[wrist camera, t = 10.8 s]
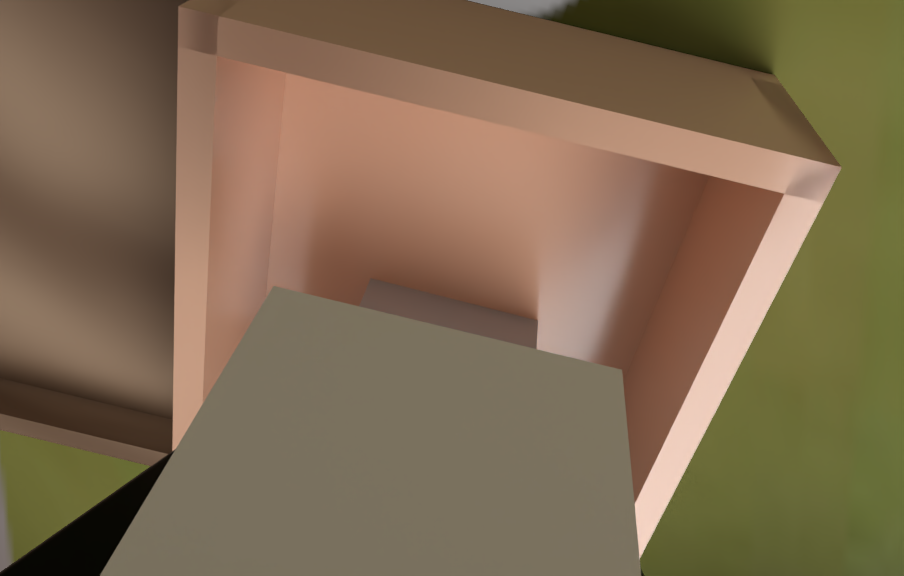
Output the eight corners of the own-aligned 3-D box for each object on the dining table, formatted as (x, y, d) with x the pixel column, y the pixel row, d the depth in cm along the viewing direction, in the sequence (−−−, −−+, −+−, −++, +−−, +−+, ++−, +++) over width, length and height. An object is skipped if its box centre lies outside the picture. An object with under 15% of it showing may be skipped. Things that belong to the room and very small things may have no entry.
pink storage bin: (592, 493, 22) (597, 640, 18) (240, 408, 22) (171, 537, 18) (775, 75, 15) (842, 167, 12) (274, -47, 15) (178, 6, 12)
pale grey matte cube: (496, 443, 21) (482, 570, 17) (346, 405, 21) (302, 525, 17) (537, 320, 18) (531, 438, 15) (370, 278, 18) (326, 386, 15)
